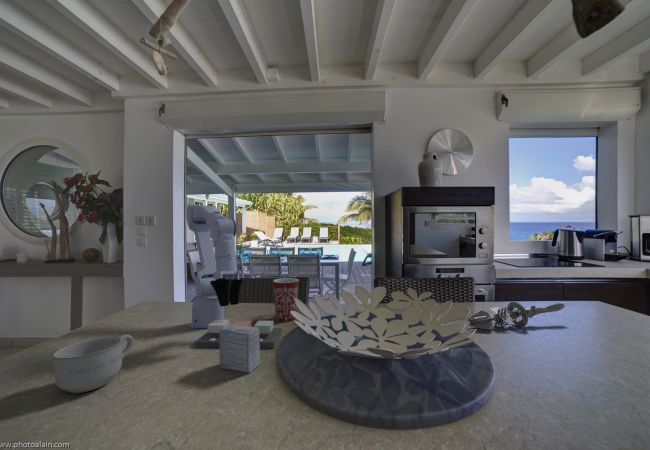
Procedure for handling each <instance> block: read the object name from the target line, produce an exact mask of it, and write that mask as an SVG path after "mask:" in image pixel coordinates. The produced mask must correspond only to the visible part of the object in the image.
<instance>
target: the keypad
mask: <svg viewBox="0 0 650 450" xmlns="http://www.w3.org/2000/svg"><path fill="white" fill-rule="evenodd" d="M282 330H283V328H282V327H274V328H273V329H272V331H271V333H259V345H260V349H275V347H276V345H277V344H278V342H279V339H280V338H281V335H282V334H283V331H282ZM194 344H195V348H215V349H216V348H219V349H220V333H208V331H207V332H205V334H203V335H202V336H201V337H199V338H198V339H197V340H196V341H195V343H194Z"/></svg>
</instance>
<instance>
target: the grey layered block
mask: <svg viewBox="0 0 650 450" xmlns="http://www.w3.org/2000/svg"><path fill="white" fill-rule="evenodd" d="M260 350H261V348H260V345H259V328H257V327H254V326H251V327H249V326H241V325H232V324H229V326H227V327H225V328H223V329H222V330H220V348H219V368H220V369H223V370H228V371H229V370H230V371H235V372H242V373H246V374H251V373H252V372H253V371H254V370H256V368H257V367H258V366H260V363H261V351H260Z"/></svg>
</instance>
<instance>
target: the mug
mask: <svg viewBox="0 0 650 450" xmlns="http://www.w3.org/2000/svg"><path fill="white" fill-rule="evenodd" d="M272 282H273V294H274V296H273V297H274V312H275V319H276V321H278V322H291V321H294V320H295V319H294V318H293V316H292V314H291V313H290V311H291V310H293V311H296V312H298V310H297V309H298V305H297V306H296V304H295V300H294V298H297V299H298V298H299V297H298V295H299V294H298V293H299V282H300V279H298V278H293V277H282V278H275V279H273V280H272Z"/></svg>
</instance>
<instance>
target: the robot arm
mask: <svg viewBox="0 0 650 450" xmlns="http://www.w3.org/2000/svg"><path fill="white" fill-rule="evenodd" d="M185 212H186V213H185V214H186V216H185V217H186V224H187V227H188V229H189V230H190V231H192V232H193V234H194V237H195V241H196V246H197V251H198V257H199V262H200V267H201V270H200V271H199V272H198V273H197V274H196V276H195V278H194V283H195V284H194V290H195V292H194V293H195V295H196V298H194V299H193V301H192V305H191V325H190V329H191V328H193V329H197V328H198V329H202V328H203V329H208V325H209V324H210V323H212V322H213V321H214V320H222V321H230V320H229V318H225V307H227V306H229V305H230V306H234V305H239V303H240V294H241V289H242V286H243V283H244V278H241V279H240V274H242V270H238V266H237V265H238V264H237V263H238V262H237V254H236V244H235V237H236V235H237V231H238V230H237V229H238V227H237V222H236V220H235V218H231V219H230V218H229V219H228V218H227V217H225V215H224V214H223V213H221V211H220V210H218V208H217V206H216V205H213V204H212V205H204V204H201V205H200V204H192V203H190V204H188V205H187V206H186V211H185ZM211 238H212V240H211ZM212 244H213V245H214V249H213V245H212Z"/></svg>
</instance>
